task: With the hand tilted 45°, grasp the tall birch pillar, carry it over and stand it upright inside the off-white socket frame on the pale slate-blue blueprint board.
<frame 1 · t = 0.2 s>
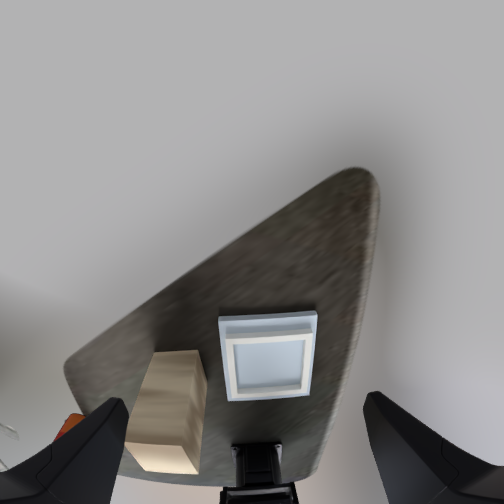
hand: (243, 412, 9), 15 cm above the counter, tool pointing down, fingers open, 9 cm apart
birch pillar: (181, 368, 26), on the counter
blueprint board: (268, 358, 26), on the counter
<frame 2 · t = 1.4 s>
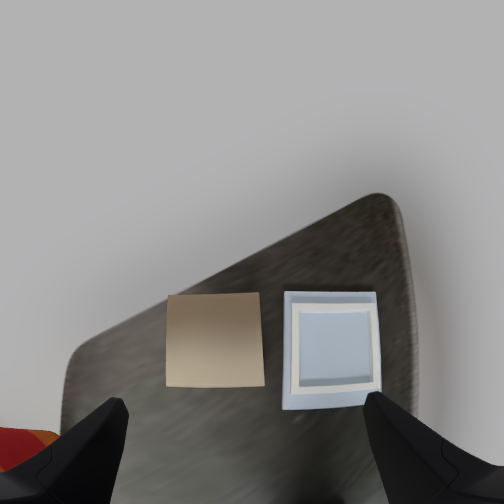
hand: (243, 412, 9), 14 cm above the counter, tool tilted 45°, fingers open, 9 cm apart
paper cup: (56, 455, 17), on the counter
birch pillar: (230, 360, 22), on the counter
blueprint board: (332, 350, 23), on the counter
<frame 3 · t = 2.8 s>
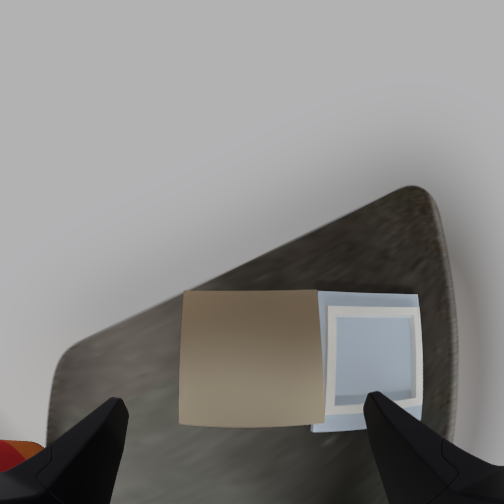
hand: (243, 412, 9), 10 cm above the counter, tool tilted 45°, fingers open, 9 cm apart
paper cup: (42, 469, 13), on the counter
birch pillar: (251, 373, 18), on the counter
blueprint board: (370, 361, 18), on the counter
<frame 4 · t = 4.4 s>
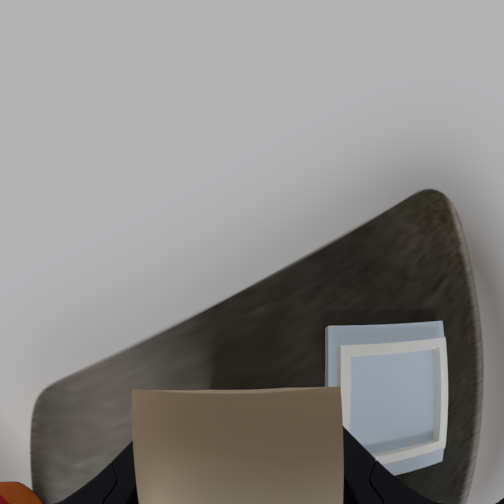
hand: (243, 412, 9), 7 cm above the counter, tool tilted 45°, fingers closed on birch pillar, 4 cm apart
birch pillar: (248, 425, 14), on the counter, touching gripper
blueprint board: (388, 403, 14), on the counter
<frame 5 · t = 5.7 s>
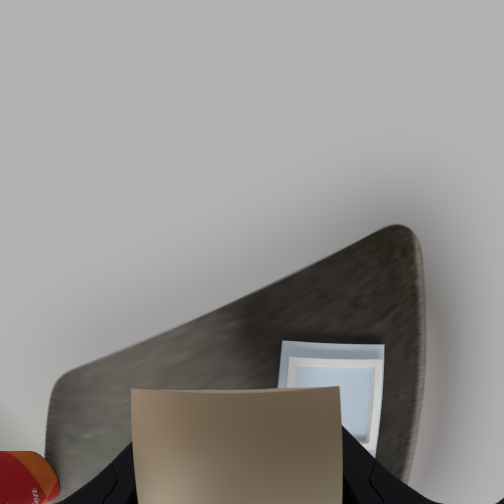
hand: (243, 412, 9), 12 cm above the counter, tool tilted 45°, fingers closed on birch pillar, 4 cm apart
paper cup: (41, 475, 15), on the counter
birch pillar: (248, 425, 14), point 6 cm above the counter, touching gripper
blueprint board: (329, 405, 19), on the counter
when the fingers open (9 cm above the counter, at t = 7.3 s): birch pillar drops 1 cm, resting on blueprint board.
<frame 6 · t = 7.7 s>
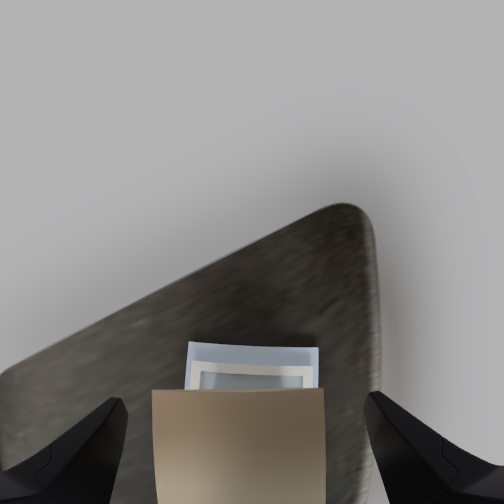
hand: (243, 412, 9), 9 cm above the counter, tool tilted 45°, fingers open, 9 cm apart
birch pillar: (248, 421, 15), point 1 cm above the counter, touching blueprint board
blueprint board: (249, 420, 16), on the counter
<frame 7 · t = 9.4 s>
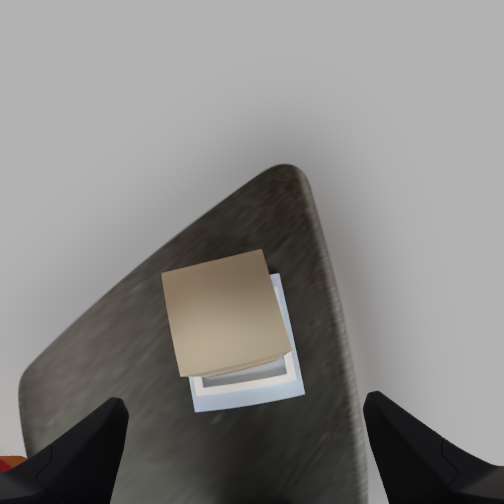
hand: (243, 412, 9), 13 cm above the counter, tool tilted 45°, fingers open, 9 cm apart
paper cup: (29, 477, 14), on the counter
birch pillar: (237, 342, 21), point 1 cm above the counter, touching blueprint board
blueprint board: (238, 343, 22), on the counter
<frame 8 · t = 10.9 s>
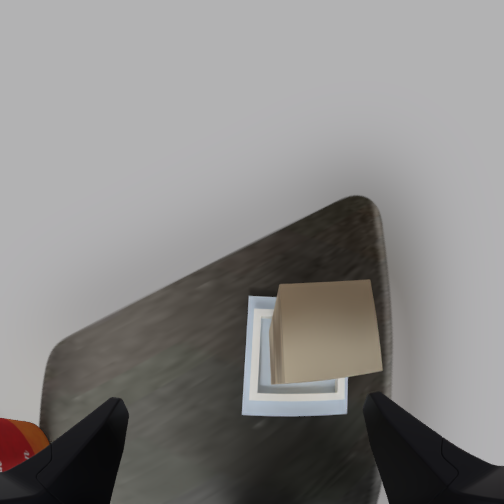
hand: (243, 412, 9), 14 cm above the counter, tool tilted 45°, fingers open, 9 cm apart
paper cup: (35, 445, 17), on the counter
birch pillar: (297, 356, 22), point 1 cm above the counter, touching blueprint board
blueprint board: (296, 357, 22), on the counter
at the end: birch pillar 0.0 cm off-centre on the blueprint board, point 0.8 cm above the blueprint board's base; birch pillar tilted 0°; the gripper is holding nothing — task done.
